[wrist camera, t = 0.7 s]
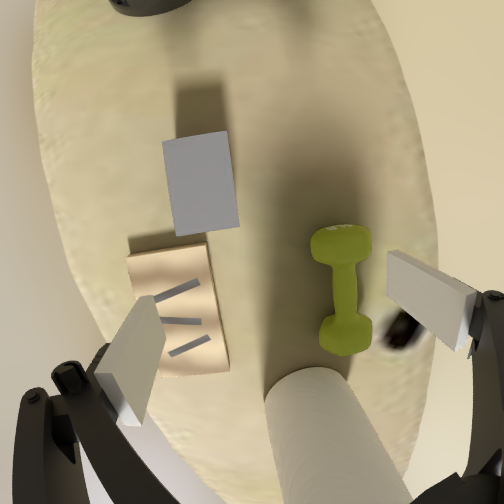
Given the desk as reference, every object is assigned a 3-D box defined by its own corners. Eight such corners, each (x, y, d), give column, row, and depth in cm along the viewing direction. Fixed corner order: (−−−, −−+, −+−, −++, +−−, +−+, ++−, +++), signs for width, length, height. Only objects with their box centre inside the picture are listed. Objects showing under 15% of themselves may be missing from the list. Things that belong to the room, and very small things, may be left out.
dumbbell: (300, 226, 35) (319, 238, 28) (357, 217, 35) (385, 226, 28) (311, 338, 39) (326, 367, 32) (360, 325, 40) (382, 350, 33)
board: (130, 253, 33) (125, 258, 31) (206, 241, 34) (205, 245, 32) (164, 369, 38) (161, 377, 36) (229, 362, 39) (230, 371, 37)
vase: (253, 378, 40) (292, 579, 9) (342, 351, 40) (449, 518, 10) (272, 431, 43) (307, 582, 13) (347, 408, 44) (416, 543, 13)
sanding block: (176, 150, 31) (162, 141, 23) (226, 142, 31) (227, 130, 24) (187, 223, 33) (176, 236, 26) (236, 216, 34) (239, 226, 26)
